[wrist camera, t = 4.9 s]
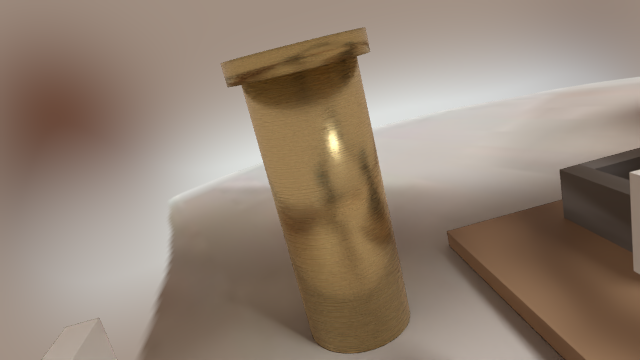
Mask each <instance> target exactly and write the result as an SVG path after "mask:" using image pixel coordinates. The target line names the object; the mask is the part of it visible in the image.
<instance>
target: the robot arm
mask: <svg viewBox="0 0 640 360" xmlns="http://www.w3.org/2000/svg"><path fill="white" fill-rule="evenodd" d="M629 176H630V199H631V222H632V244H633V267H634V271H635V272H637V273H638V274H640V170H636V171H632V172H629ZM42 360H117V358H116V356H115V353H114V351H113V349H112V346H111V344H110V342H109V340H108V337H107V335H106V333H105V330H104V328H103V326H102V323H101V321H100V319H99V318H97V319H93V320H89V321H86V322H82V323H78V324H75V325H71V326H67V327H66V328H65V329H64V330H63V331H62V333H61V334H60V336H59V337H58V338H57V340H56V341H55V342H54V343H53V345H52V346H51V348H50V349H49V350H48V351H47V353H46V354H45V355H44V357H43V358H42Z"/></svg>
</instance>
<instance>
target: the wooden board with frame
mask: <svg viewBox="0 0 640 360" xmlns="http://www.w3.org/2000/svg"><path fill="white" fill-rule="evenodd" d="M636 170H640V148H637V149H633V150H630V151H626V152H622V153H619V154H615V155H611V156H608V157H604V158H600V159H597V160H593V161H589V162H586V163H582V164H578V165H575V166H571V167H567V168H564V169H560V178H561V190H562V200H559V201H555V202H551V203H548V204H544V205H541V206H537V207H533V208H530V209H526V210H522V211H519V212H515V213H512V214H508V215H504V216H501V217H497V218H493V219H490V220H486V221H483V222H479V223H475V224H472V225H468V226H464V227H461V228H457V229H453V230H450V231H447V235H448V241H449V246H450V247H451V248H452V249H453V250H454V251H455V252H456V253H457V254H458V255H459V256H460V257H461V258H463V259H464V260H465V261H466V262H467V263H468V264H469V265H470V266H471V267H472V268H473V269H474V270H475V271H476V272H477V273H478V274H479V275H480V276H481V277H482V278H483V279H484V280H485V281H486V282H487V283H488V284H489V285H490V286H491V287H492V288H493V289H494V290H495V291H496V292H497V293H498V294H499V295H500V296H501V297H502V298H503V299H504V300H505V301H506V302H507V303H508V304H509V305H510V306H511V307H512V308H513V309H514V310H515V311H516V312H517V313H518V314H519V315H520V316H521V317H522V318H523V319H524V320H525V321H526V322H527V323H528V324H529V325H530V326H531V327H532V328H533V329H534V330H535V331H536V332H537V333H538V334H540V335H541V336H542V337H543V338H544V339H545V340H546V341H547V342H548V343H549V344H550V345H551V346H552V347H553V348H554V349H555V350H556V351H557V352H558V353H559V354H560V355H561V356H562V357H563V358H564V359H565V360H640V274H638V273H637V272H635V271H634V267H633V244H632V222H631V199H630V176H629V172H632V171H636Z"/></svg>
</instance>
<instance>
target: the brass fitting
mask: <svg viewBox="0 0 640 360" xmlns="http://www.w3.org/2000/svg"><path fill="white" fill-rule="evenodd" d="M368 52H370V48H369V43H368V38H367V34H366V28H359V29H354V30H350V31H345V32H341V33H337V34H332V35H328V36H323V37H319V38H315V39H311V40H307V41H303V42H299V43H295V44H291V45H287V46H283V47H279V48H275V49H271V50H267V51H263V52H259V53H256V54H252V55H248V56H244V57H241V58H237V59H233V60H230V61H227V62H223V63H221V67H222V70H223V73H224V77H225V80H226V83H227V87H233V86H238V85H242V88H243V92H244V95H245V99H246V103H247V106H248V110H249V113H250V117H251V120H252V123H253V127H254V131H255V134H256V137H257V141H258V145H259V149H260V152H261V156H262V159H263V163H264V166H265V170H266V173H267V177H268V180H269V184H270V187H271V191H272V194H273V198H274V202H275V205H276V209H277V212H278V216H279V219H280V223H281V226H282V230H283V233H284V237H285V240H286V244H287V247H288V251H289V254H290V258H291V262H292V265H293V269H294V272H295V276H296V279H297V283H298V286H299V290H300V293H301V297H302V300H303V304H304V307H305V311H306V314H307V318H308V322H309V325H310V329H311V332H312V336H313V338H314V340H315V341H316V342H317V343H318V344H319V345H320V346H322V347H323V348H325V349H328V350H330V351H334V352H339V353H359V352H365V351H369V350H373V349H376V348H379V347H381V346H383V345H385V344H387V343H389V342H391V341H392V340H394V339H395V338H397V337H398V336H399V335H400V334H401V333H402V332H403V331H404V329H405V328H406V326H407V325H408V322H409V319H410V310H409V305H408V301H407V296H406V291H405V286H404V281H403V277H402V272H401V267H400V262H399V257H398V253H397V248H396V243H395V238H394V233H393V229H392V224H391V219H390V214H389V209H388V204H387V200H386V195H385V190H384V185H383V180H382V176H381V171H380V166H379V161H378V156H377V152H376V147H375V142H374V137H373V132H372V128H371V123H370V118H369V114H368V108H367V104H366V99H365V94H364V90H363V84H362V79H361V75H360V70H359V65H358V61H357V56H359V55H362V54H365V53H368Z"/></svg>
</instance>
